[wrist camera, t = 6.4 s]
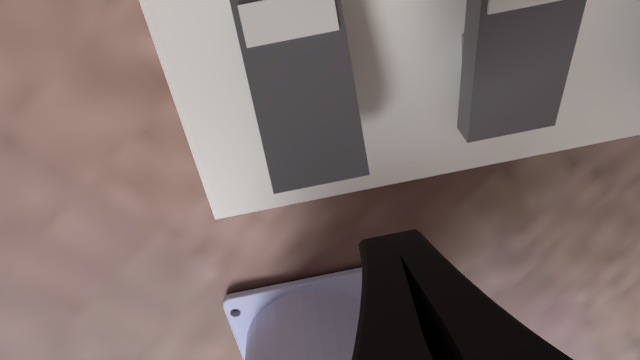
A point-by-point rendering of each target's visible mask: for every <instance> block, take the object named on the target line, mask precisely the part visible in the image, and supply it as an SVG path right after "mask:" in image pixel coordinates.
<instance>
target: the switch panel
mask: <svg viewBox="0 0 640 360" xmlns="http://www.w3.org/2000/svg"><path fill="white" fill-rule="evenodd" d="M139 2H140V5H141V8H142V11H143V13H144V16H145V19H146V22H147V25H148V28H149V31H150V34H151V36H152V39H153V42H154V45H155V48H156V51H157V54H158V57H159V59H160V62H161V65H162V68H163V71H164V74H165V77H166V80H167V82H168V85H169V88H170V91H171V94H172V97H173V100H174V103H175V105H176V108H177V111H178V114H179V117H180V120H181V123H182V126H183V128H184V131H185V134H186V137H187V140H188V143H189V146H190V149H191V151H192V154H193V157H194V160H195V163H196V166H197V169H198V172H199V174H200V177H201V180H202V183H203V186H204V189H205V192H206V195H207V197H208V200H209V203H210V206H211V209H212V212H213V215H214V218H215V220H216V219H221V218H226V217H231V216H236V215H241V214H246V213H251V212H256V211H261V210H266V209H271V208H276V207H281V206H286V205H291V204H296V203H301V202H306V201H311V200H316V199H321V198H326V197H331V196H336V195H341V194H346V193H351V192H356V191H361V190H366V189H371V188H376V187H381V186H386V185H391V184H396V183H401V182H406V181H411V180H416V179H421V178H426V177H431V176H436V175H441V174H446V173H451V172H456V171H461V170H466V169H471V168H476V167H481V166H486V165H491V164H496V163H501V162H506V161H511V160H516V159H521V158H526V157H531V156H536V155H541V154H546V153H551V152H557V151H562V150H567V149H572V148H577V147H582V146H587V145H592V144H597V143H602V142H607V141H612V140H617V139H622V138H627V137H632V136H637V135H640V0H587V1H586V5H585V9H584V13H583V17H582V21H581V25H580V29H579V33H578V37H577V41H576V45H575V49H574V52H573V56H572V60H571V64H570V68H569V72H568V76H567V80H566V84H565V88H564V92H563V96H562V100H561V104H560V108H559V111H558V115H557V119H556V123H555V126H550V127H545V128H540V129H535V130H530V131H525V132H520V133H515V134H510V135H505V136H500V137H495V138H490V139H484V140H479V141H474V142H469V143H467V142H466V140H465V139H464V137H463V136H462V134H461V133H460V131H459V130H458V128H457V120H458V107H459V94H460V81H461V68H462V55H463V41H464V28H465V15H466V2H467V0H341V4H342V10H343V16H344V22H345V28H346V34H347V40H348V46H349V52H350V58H351V64H352V70H353V76H354V82H355V88H356V94H357V100H358V106H359V113H360V119H361V125H362V131H363V137H364V143H365V149H366V155H367V161H368V167H369V173H370V175H367V176H362V177H357V178H352V179H347V180H342V181H337V182H332V183H327V184H322V185H317V186H312V187H307V188H302V189H297V190H292V191H287V192H282V193H277V194H274V193H273V189H272V184H271V180H270V176H269V171H268V167H267V163H266V158H265V154H264V149H263V145H262V141H261V136H260V132H259V128H258V123H257V119H256V114H255V110H254V106H253V101H252V97H251V93H250V88H249V84H248V79H247V75H246V71H245V66H244V62H243V58H242V53H241V49H240V44H239V40H238V36H237V31H236V27H235V23H234V18H233V14H232V9H231V5H230V1H229V0H139Z"/></svg>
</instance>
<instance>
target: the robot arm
mask: <svg viewBox="0 0 640 360" xmlns="http://www.w3.org/2000/svg"><path fill="white" fill-rule="evenodd" d="M359 250H360V257H361V263H362V267H361V268H356V269H351V270H346V271H341V272H336V273H331V274H326V275H321V276H316V277H311V278H306V279H301V280H296V281H291V282H286V283H281V284H276V285H271V286H266V287H261V288H256V289H252V290H247V291H242V292H237V293H232V294H228V295H227V296H225V297H224V300H223V308H224V311H225V314H226V316H227V319H228V321H229V324H230V327H231V329H232V332H233V334H234V337H235V340H236V342H237V345H238V348H239V350H240V353H241V355H242V358H243V360H573V359H572V358H570V357H568V356H567V355H566V354H564V353H563V352H561V351H560V350H558V349H557V348H555V347H554V346H552V345H551V344H549V343H548V342H547V341H545V340H544V339H542V338H541V337H540V336H538V335H537V334H535V333H534V332H533V331H531V330H530V329H529V328H527V327H526V326H525V325H523V324H522V323H521V322H519V321H518V320H517V319H515V318H514V317H513V316H512V315H510V314H509V313H508V312H507V311H505V310H504V309H503V308H501V307H500V306H499V305H498V304H496V303H495V302H494V301H493V300H492V299H490V298H489V297H488V296H487V295H486V294H484V293H483V292H482V291H481V290H480V289H479V288H478V287H476V286H475V285H474V284H473V283H472V282H471V281H470V280H468V279H467V278H466V277H465V276H464V275H463V274H462V273H461V272H460V271H458V270H457V269H456V268H455V267H454V266H453V265H452V264H451V263H450V262H449V261H448V260H447V259H446V258H445V257H444V256H443V255H442V254H441V253H440V252H439V251H438V250H437V249H436V248H435V247H434V246H433V245H432V244H431V243H430V242H429V241H428V240H427V239H426V238H425V237H424V236H423V235H422V234H421V233H420V232H419V231H417V230H416V229H415V230H409V231H404V232H399V233H394V234H389V235H384V236H379V237H373V238H368V239H363V240H362V241H361V242H360V243H359ZM233 309H238V310H239V311H233Z"/></svg>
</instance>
